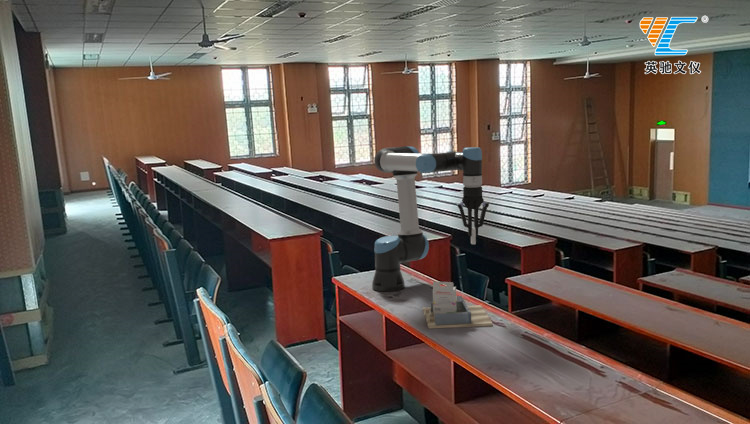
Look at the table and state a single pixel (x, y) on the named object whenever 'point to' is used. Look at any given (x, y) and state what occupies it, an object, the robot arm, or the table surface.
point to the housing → (454, 314)
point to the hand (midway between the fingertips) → (473, 243)
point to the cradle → (477, 319)
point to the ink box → (444, 298)
